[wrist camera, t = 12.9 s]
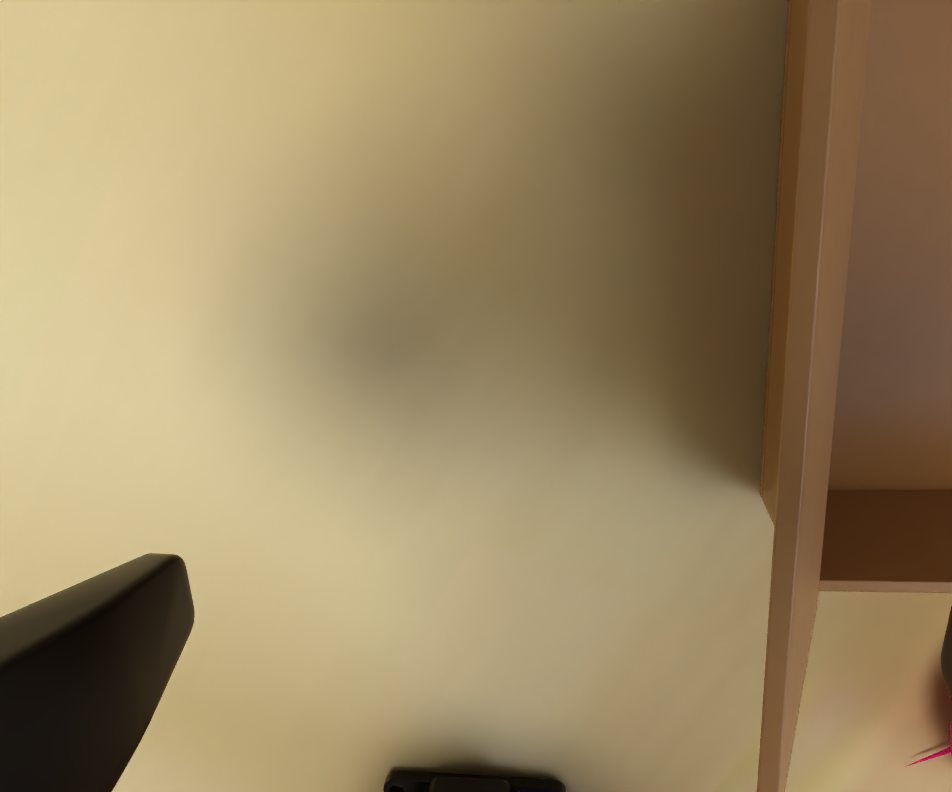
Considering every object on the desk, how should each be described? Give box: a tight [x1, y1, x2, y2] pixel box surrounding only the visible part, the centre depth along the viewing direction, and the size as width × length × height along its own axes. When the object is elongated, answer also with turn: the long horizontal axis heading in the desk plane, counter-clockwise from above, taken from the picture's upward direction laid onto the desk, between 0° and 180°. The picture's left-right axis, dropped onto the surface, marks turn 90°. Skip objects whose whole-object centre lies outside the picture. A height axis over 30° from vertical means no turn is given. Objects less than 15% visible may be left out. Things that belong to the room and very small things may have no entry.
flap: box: [757, 0, 872, 792], centre depth 12 cm, size 14×7×1 cm
